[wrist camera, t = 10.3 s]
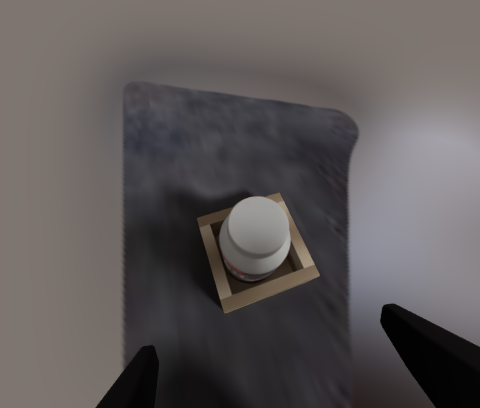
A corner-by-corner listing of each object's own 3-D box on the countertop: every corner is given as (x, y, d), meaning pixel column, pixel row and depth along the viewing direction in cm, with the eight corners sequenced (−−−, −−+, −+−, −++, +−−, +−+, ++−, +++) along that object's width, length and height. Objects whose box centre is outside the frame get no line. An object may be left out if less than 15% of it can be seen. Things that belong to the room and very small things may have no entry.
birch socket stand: (306, 281, 22) (320, 275, 19) (226, 313, 21) (224, 312, 17) (273, 209, 26) (279, 192, 22) (202, 232, 25) (196, 218, 21)
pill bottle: (218, 280, 22) (207, 256, 13) (228, 229, 24) (224, 180, 16) (273, 289, 22) (299, 272, 13) (278, 236, 24) (302, 192, 15)
